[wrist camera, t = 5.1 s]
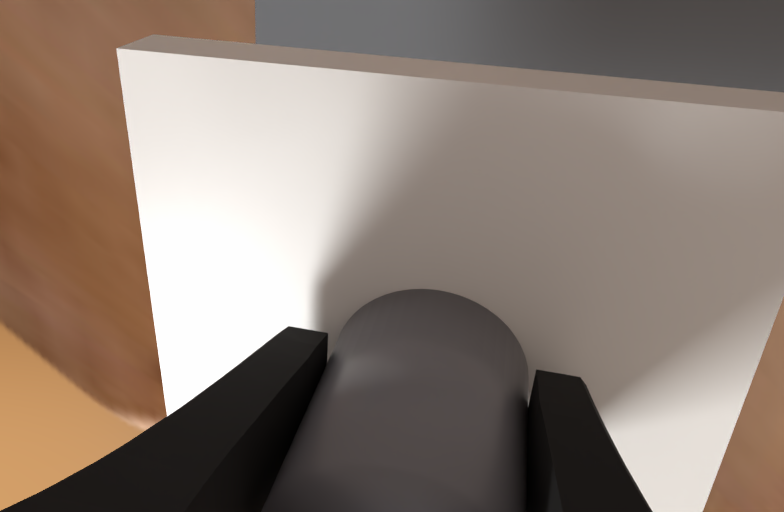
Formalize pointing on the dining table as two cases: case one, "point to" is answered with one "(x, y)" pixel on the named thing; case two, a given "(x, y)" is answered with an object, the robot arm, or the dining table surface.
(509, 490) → the lid
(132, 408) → the dining table surface
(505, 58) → the mat
